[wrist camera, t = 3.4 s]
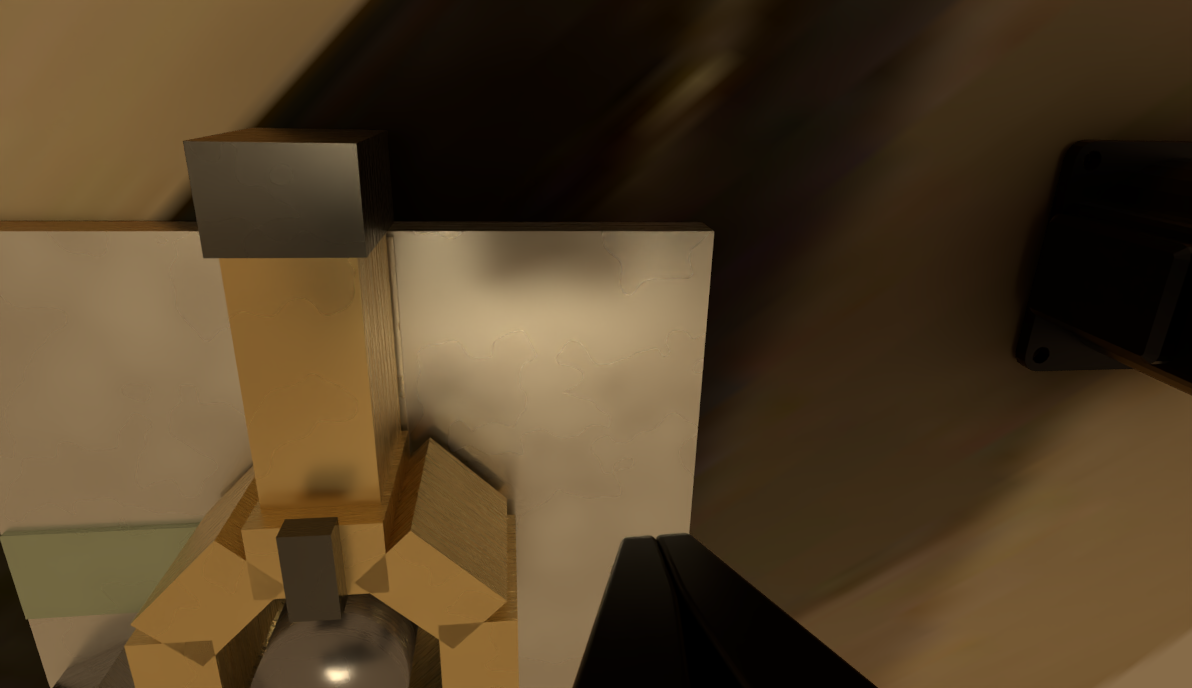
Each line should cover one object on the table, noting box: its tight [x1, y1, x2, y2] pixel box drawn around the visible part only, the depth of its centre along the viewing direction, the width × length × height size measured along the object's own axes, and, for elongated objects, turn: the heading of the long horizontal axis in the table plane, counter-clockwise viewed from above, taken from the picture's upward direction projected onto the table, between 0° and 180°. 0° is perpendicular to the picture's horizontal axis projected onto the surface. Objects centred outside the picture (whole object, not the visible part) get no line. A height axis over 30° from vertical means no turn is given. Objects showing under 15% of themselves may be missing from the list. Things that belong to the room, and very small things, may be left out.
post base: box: [0, 221, 714, 688], centre depth 18 cm, size 18×18×6 cm
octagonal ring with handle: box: [124, 128, 519, 688], centre depth 16 cm, size 8×15×5 cm, turn 179°
